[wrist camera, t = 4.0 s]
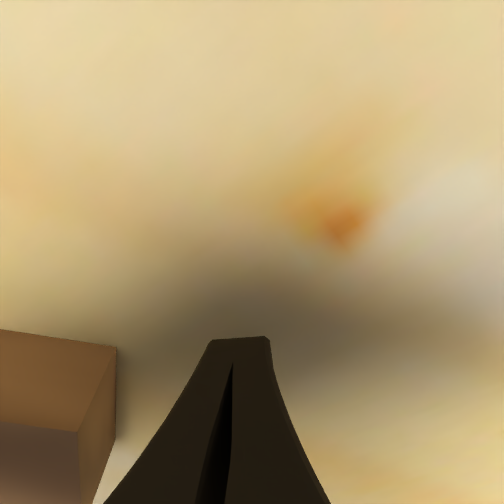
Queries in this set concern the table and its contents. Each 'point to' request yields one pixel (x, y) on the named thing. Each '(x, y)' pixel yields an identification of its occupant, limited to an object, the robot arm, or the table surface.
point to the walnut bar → (54, 418)
